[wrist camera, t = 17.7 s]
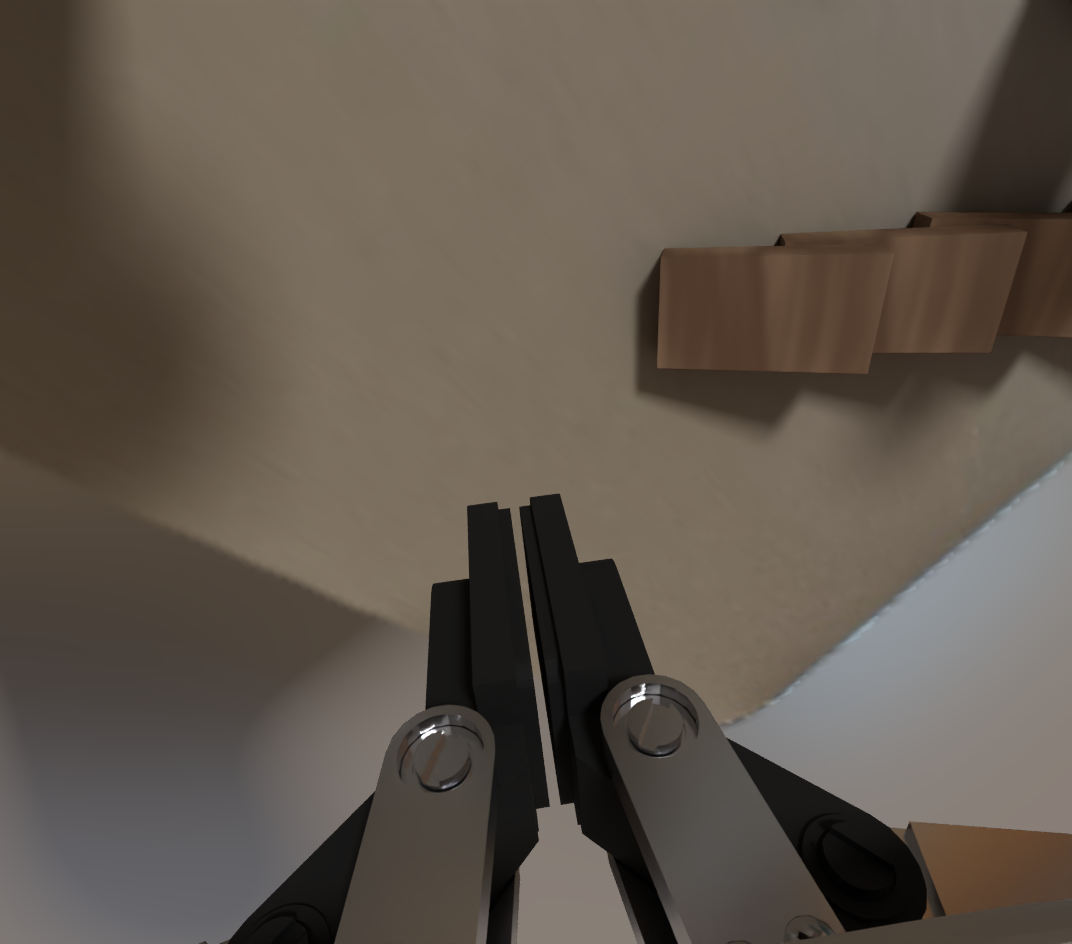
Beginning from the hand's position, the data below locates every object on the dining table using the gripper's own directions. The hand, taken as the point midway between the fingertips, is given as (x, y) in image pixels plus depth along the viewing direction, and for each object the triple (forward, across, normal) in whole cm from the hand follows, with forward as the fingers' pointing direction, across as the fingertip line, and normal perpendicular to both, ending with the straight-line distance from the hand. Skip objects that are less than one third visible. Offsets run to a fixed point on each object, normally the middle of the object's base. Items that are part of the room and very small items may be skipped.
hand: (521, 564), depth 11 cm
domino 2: (+18, -14, +1) cm, 23 cm away
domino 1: (+18, -8, +1) cm, 20 cm away
